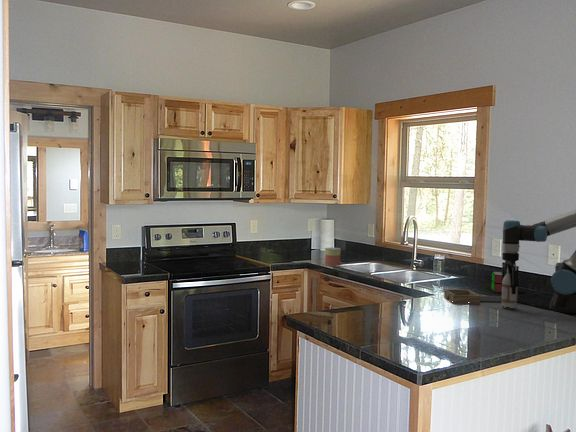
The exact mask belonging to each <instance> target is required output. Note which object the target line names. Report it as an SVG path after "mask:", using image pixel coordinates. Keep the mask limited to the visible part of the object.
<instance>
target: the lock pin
mask: <svg viewBox="0 0 576 432" xmlns="http://www.w3.org/2000/svg"><path fill="white" fill-rule="evenodd" d="M518 287H519V286H518ZM518 287H517V294H519V293H518V291H519V289H518ZM480 302H502V295H480Z"/></svg>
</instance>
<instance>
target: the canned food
mask: <svg viewBox="0 0 576 432" xmlns="http://www.w3.org/2000/svg"><path fill="white" fill-rule="evenodd" d="M324 251H325V252H324V265H325V266H328V267H339V266H341V251H342V250H341V248H340V247H325V248H324Z"/></svg>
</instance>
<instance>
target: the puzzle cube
mask: <svg viewBox="0 0 576 432" xmlns="http://www.w3.org/2000/svg"><path fill="white" fill-rule="evenodd" d="M501 278H502V271H500V272H499V271H498V272H497V271H492V273H491V290H492V291H493V292H494V293H502V282H501Z"/></svg>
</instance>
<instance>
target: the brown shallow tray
mask: <svg viewBox="0 0 576 432" xmlns="http://www.w3.org/2000/svg"><path fill="white" fill-rule="evenodd" d="M443 290H444V291H443V298H444V299H445V300H447V301H449V303H451V304H452V305H472V306H473V305H475V306H479V305H480V304H481V301H480V296H481V295H480V294H478V293H476V292H474V291H472V290H470V289H451V288H449V289H447V288H445V289H443ZM452 301H453V302H452ZM468 302H470V303H468Z"/></svg>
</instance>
